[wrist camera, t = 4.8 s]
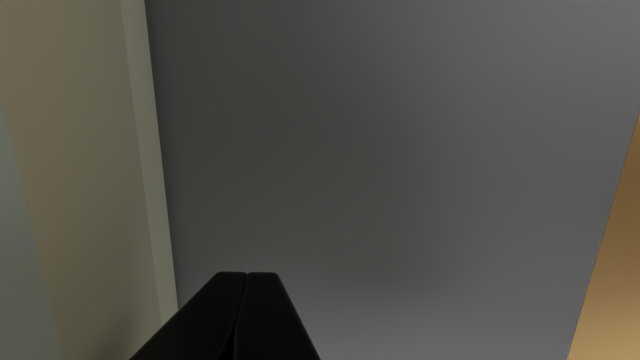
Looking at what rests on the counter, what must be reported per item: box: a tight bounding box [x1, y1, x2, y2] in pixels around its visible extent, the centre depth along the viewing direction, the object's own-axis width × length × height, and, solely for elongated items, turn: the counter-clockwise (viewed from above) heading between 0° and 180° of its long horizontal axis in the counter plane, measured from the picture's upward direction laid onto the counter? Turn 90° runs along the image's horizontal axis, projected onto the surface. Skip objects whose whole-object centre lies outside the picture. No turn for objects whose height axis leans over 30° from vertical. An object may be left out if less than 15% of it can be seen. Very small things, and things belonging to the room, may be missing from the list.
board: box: [144, 0, 640, 360], centre depth 9 cm, size 18×13×4 cm
